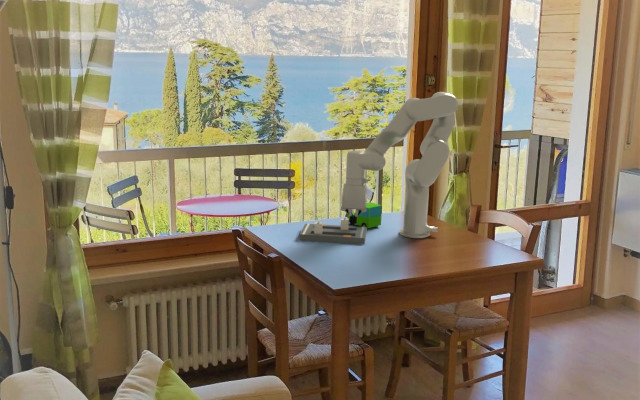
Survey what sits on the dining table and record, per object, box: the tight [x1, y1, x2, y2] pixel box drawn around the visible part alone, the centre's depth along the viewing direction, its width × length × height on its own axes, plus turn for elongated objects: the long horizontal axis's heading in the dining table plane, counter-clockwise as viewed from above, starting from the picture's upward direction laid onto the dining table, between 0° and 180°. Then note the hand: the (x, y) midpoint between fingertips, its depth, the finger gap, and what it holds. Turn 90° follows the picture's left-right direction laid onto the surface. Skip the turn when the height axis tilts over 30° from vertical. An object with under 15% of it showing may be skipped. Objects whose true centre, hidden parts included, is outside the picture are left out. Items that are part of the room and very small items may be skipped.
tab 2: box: [340, 217, 350, 230], centre depth 263 cm, size 3×3×5 cm
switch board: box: [298, 222, 368, 245], centre depth 261 cm, size 26×16×3 cm, turn 83°
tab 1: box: [313, 221, 323, 234], centre depth 257 cm, size 3×3×5 cm
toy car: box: [346, 202, 383, 230], centre depth 277 cm, size 10×13×10 cm
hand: (352, 224), depth 263 cm, fingers closed
